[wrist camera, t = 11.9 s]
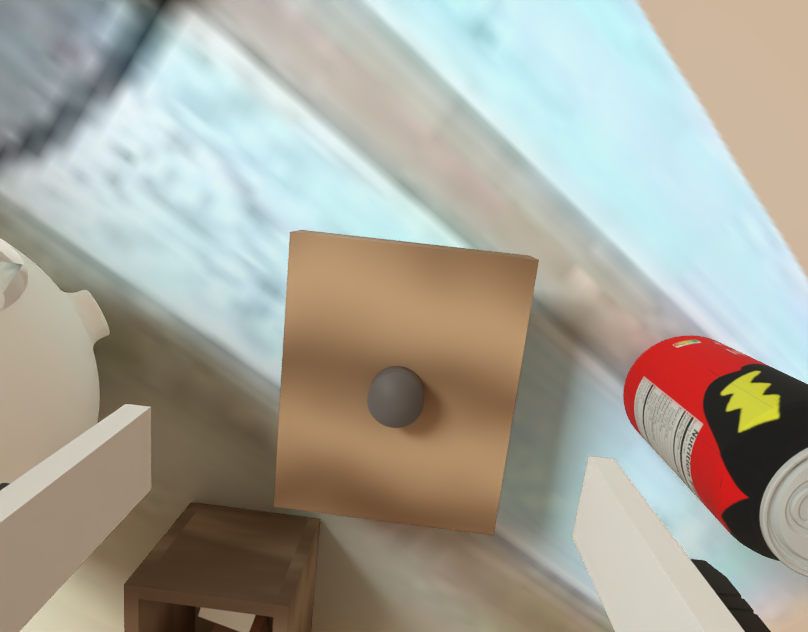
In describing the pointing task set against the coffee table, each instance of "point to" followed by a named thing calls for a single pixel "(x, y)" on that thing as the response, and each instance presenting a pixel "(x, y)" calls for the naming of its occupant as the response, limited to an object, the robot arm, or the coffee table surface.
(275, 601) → the box
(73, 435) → the decorative ball
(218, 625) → the terracotta cube
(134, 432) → the robot arm
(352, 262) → the lid
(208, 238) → the coffee table surface
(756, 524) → the beverage can
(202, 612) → the cream cube
